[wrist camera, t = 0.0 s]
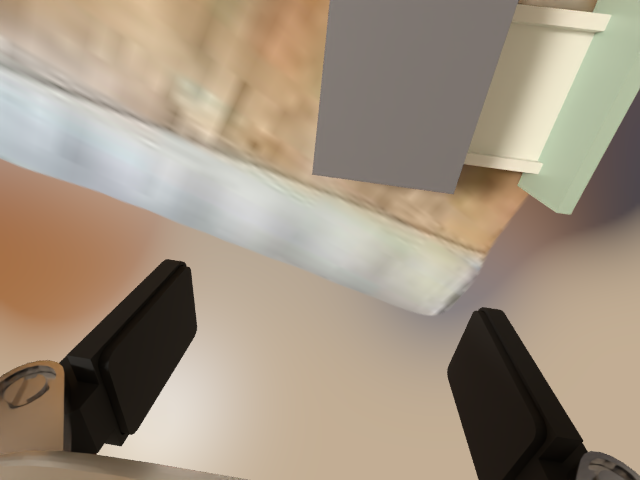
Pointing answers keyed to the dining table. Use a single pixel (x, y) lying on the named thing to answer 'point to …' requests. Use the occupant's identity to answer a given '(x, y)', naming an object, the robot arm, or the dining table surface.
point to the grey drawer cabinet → (406, 88)
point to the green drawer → (559, 97)
